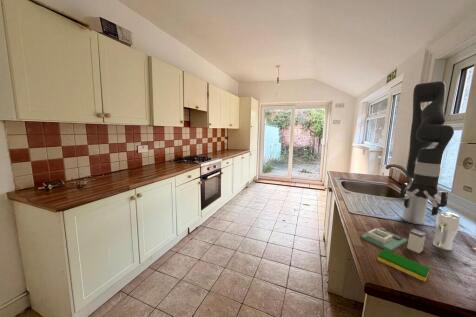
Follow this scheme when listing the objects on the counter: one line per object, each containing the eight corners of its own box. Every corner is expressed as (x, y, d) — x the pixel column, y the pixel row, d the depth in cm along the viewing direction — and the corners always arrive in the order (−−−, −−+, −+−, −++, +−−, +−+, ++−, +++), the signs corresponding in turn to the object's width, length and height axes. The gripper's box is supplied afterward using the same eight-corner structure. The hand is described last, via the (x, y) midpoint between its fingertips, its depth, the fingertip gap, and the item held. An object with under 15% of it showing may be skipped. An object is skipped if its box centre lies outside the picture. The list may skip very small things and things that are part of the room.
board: (378, 229, 99) (378, 224, 98) (407, 241, 89) (408, 235, 88) (360, 237, 91) (361, 231, 91) (390, 252, 81) (391, 245, 80)
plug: (410, 245, 86) (413, 228, 85) (422, 250, 83) (426, 233, 81) (406, 248, 84) (409, 231, 83) (419, 253, 81) (422, 235, 79)
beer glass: (450, 253, 81) (457, 219, 79) (428, 244, 87) (434, 212, 85) (456, 248, 85) (463, 216, 82) (434, 240, 91) (440, 210, 88)
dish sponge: (382, 253, 80) (383, 248, 80) (428, 273, 70) (429, 267, 69) (376, 260, 76) (377, 255, 76) (425, 283, 65) (426, 276, 65)
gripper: (454, 176, 75) (446, 216, 77) (408, 169, 87) (402, 204, 90) (447, 178, 71) (439, 219, 74) (401, 170, 84) (395, 206, 86)
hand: (419, 211), depth 82 cm, fingers open, 8 cm apart
